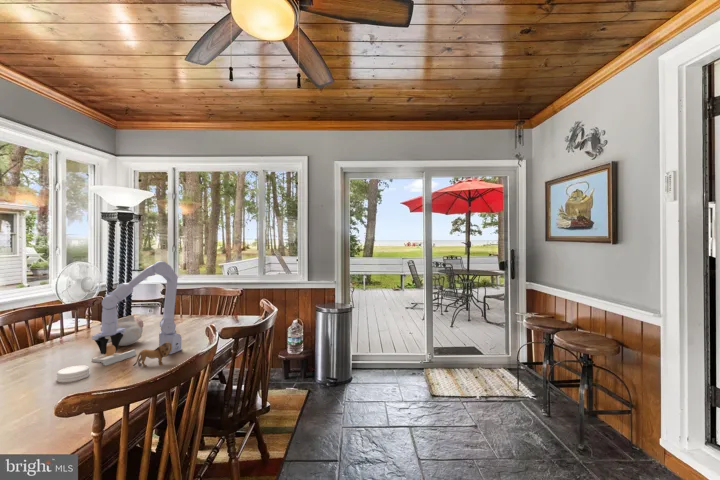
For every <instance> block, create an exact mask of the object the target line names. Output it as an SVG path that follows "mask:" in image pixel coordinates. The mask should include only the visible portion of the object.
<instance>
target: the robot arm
mask: <svg viewBox="0 0 720 480" xmlns="http://www.w3.org/2000/svg"><path fill="white" fill-rule="evenodd" d="M156 274H157V275H158V276H161V277H162V278H163V279H165V280H166V284H165V285H166V286H165V294H164V295H165V297H164V304H163V314H162V319H161V321H160V322H159V327H160V331H159V334H158V335H159V336H158V339H159V340H158V347H160V346H161V345H163V344H164V343H166V342H169V343H171V346H172V350H171V352H170V353H169V354H168V355H172V354H175V353H177V352H180V351H182V350H183V348H182V336H181V334H180V333H177V331H176V326H177V325H176V323H175V309H176V308H175V306H176V297H177V287H178V279H179V278H178V275H177V274H176V272H175V270H174V269H173V268H172V266H171V265H170V264H168V262H166V261H164V260H158V261H156V262H154V264H151V265H148V267H146V268H145V269H143V270H142V271H141V272H140V273H138V274H137V275H136V276H135V277H133V279H131V280H130V281H129V282H123V283H119V284H118V285H117V287H116V288H115V289H114V290H112V291H110V292H108V293H107V294H108V295H105V296H104V297H103V299H102V300H101V306H102V309H101V310H102V312H101V327H102V331H101V330H100V332H98V333H95V334H93V335H91V339H92V341H94V342H95V343H96V345H97V346H98V349H99V352H100V355H104V354H106V347H107V345H108V343H107V342H108V340H109V339H106V338H105V337H108V336H110V337H111V341H112V342H111V345H114V346H115V347H116V351H115V352H117V350H118V348H119V346H120V345H119V343H120V340H121V339H122V337H123V334H121V333H125V328H120V329H117V319H118V309H117V306H118V303H120V302H122V301H124V299H126V298H127V297H128V296H129V295H131V294H132V293H133V292H134V288H135V287H136V286H137V285H139V284H140V283H142V282H143V281H144V280H146V279H147V278H148V277H154V276H156Z"/></svg>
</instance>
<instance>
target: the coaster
mask: <svg viewBox="0 0 720 480" xmlns="http://www.w3.org/2000/svg"><path fill="white" fill-rule="evenodd" d="M89 376H90V366H88V365H73V366H67V367H64V368H62V369H60V370H58V371H57V372H56V382H58V383H71V382H78V381H80V380H84V379H86V378H88V377H89Z"/></svg>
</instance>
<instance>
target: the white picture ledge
mask: <svg viewBox="0 0 720 480" xmlns="http://www.w3.org/2000/svg"><path fill="white" fill-rule="evenodd" d="M118 354H119V355H116V356H113V357H110V358H107V359H104V363H102V366H105V367H107V366H110V365H112V364H115V363H116V364H117V363H118V362H121V361H123V360H127V359H129V358H133V357H135V356H137V354H136V349H131V350H129V351H125V352H122V353H118Z"/></svg>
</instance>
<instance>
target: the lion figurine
mask: <svg viewBox="0 0 720 480" xmlns="http://www.w3.org/2000/svg"><path fill="white" fill-rule="evenodd" d="M171 350H172V346H171V343H169V342H166V343H164V344H163V345H161V346H160V347H159V346H158V347H157V348H155V349H153V350H152V349H143V350H140V352H139V353H138V355H137V359H136V360H135V363H134V364H133V365H132V366H133V367H135V366H136V365H138V366H141V365H142V367H147V366H148V364H145V363H146V362H145V361H146V359H147V358H149V359H158V361H157V362H158V365H159V366H163V365H164V363H163V358H166V357H167V356H168V355H170V354H169V353H170V352H171Z"/></svg>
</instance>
